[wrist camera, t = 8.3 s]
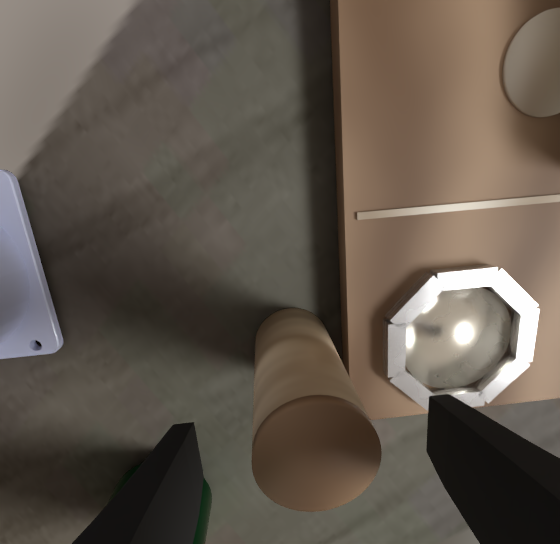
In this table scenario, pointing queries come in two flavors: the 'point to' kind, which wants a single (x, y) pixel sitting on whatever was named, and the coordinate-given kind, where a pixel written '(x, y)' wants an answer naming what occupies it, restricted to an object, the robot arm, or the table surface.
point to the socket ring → (459, 335)
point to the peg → (308, 418)
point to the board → (445, 168)
